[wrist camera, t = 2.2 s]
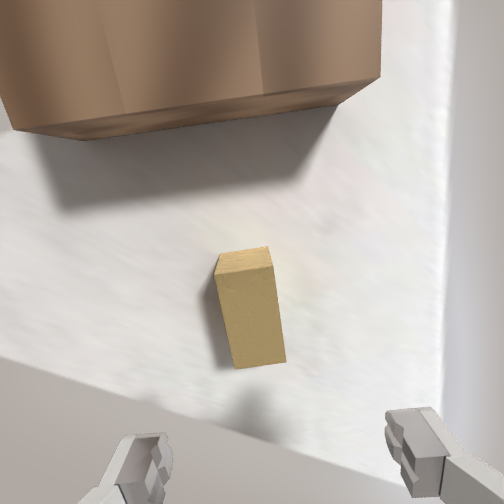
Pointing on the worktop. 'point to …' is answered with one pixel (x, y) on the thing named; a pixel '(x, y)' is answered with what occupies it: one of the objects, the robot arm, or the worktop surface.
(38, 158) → the worktop surface
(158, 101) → the walnut square frame
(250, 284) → the wooden toy block
